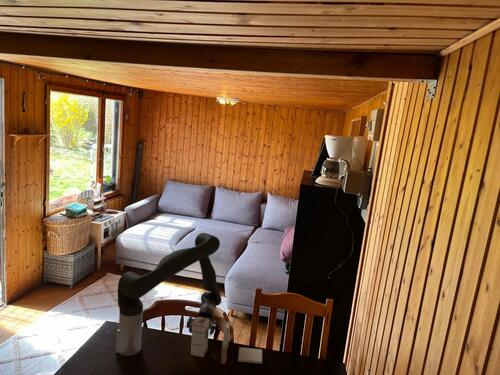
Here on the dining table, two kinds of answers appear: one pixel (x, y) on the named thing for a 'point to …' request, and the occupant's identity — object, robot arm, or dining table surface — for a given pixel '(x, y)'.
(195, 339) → the syrup box
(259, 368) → the dining table surface
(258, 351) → the grey mat
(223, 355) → the birch posts
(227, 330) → the wooden bar
